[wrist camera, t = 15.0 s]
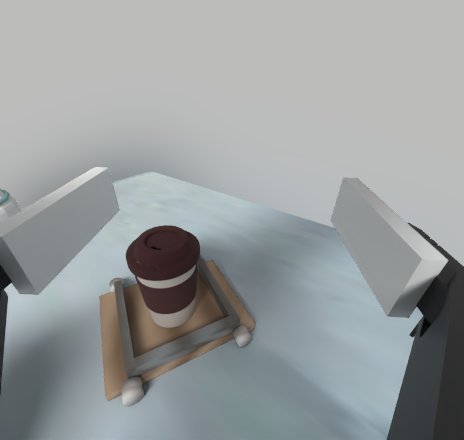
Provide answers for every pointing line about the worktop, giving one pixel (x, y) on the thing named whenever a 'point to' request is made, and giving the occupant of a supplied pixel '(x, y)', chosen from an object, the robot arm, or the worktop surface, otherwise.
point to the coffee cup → (166, 273)
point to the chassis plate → (165, 332)
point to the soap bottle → (7, 206)
